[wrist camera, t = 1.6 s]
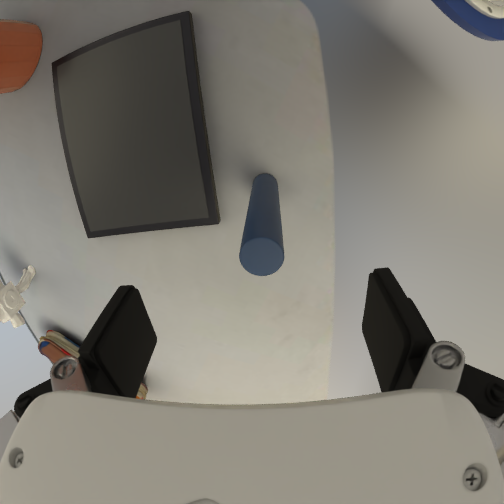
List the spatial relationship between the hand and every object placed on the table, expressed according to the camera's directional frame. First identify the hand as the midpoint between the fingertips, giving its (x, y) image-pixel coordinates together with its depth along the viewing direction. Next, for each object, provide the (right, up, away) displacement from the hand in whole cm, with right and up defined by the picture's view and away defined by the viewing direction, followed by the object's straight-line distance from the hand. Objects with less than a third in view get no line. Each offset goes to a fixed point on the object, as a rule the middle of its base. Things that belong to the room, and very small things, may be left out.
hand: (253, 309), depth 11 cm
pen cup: (-27, +25, +7) cm, 37 cm away
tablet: (-12, +14, +12) cm, 22 cm away
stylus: (+1, +8, +14) cm, 17 cm away
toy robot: (-32, -1, +22) cm, 39 cm away
